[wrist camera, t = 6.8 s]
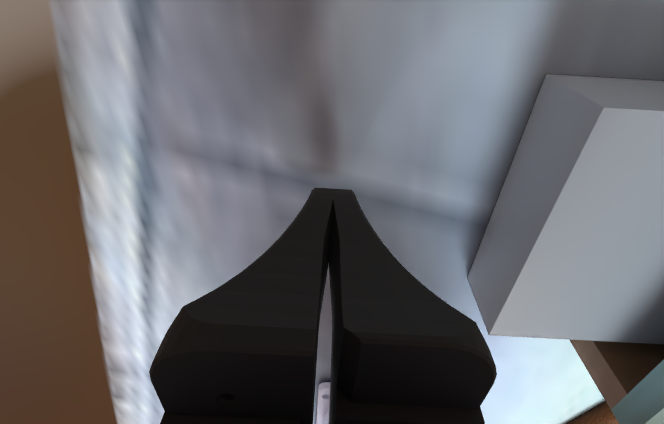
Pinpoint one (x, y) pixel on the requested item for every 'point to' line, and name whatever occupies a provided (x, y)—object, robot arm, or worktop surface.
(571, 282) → the flat grey cuboid
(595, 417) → the sunglasses case
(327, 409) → the robot arm
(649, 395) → the overhang bridge
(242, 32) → the worktop surface
